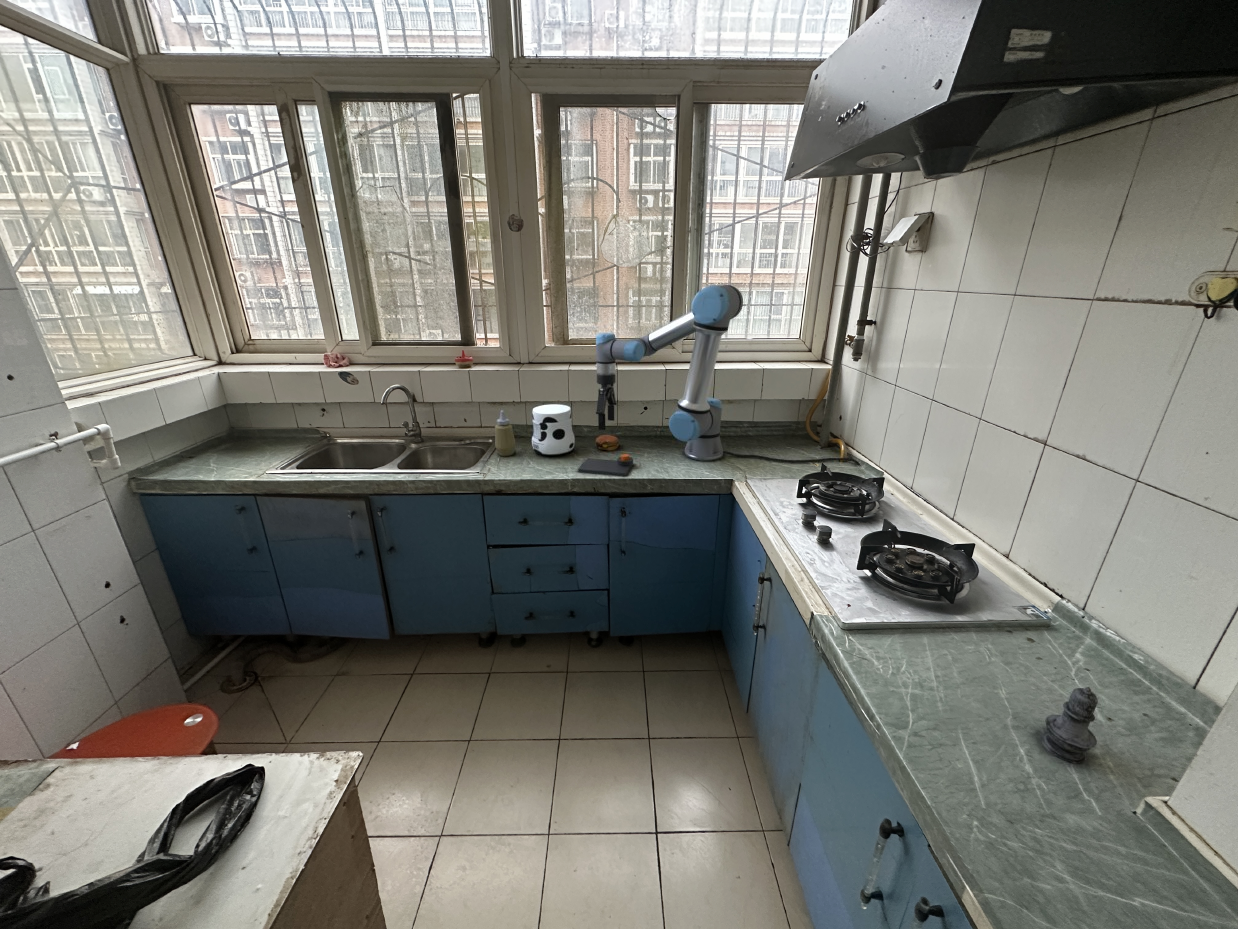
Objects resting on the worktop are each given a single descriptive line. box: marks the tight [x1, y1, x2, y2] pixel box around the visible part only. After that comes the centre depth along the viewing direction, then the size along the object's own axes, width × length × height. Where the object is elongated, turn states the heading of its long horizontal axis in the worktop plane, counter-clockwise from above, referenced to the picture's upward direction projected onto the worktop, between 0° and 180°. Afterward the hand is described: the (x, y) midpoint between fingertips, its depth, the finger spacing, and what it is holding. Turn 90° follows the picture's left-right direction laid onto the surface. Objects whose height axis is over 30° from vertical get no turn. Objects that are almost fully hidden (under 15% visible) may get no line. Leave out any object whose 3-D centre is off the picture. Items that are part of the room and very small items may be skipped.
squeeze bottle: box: [494, 410, 516, 457], centre depth 199 cm, size 8×8×18 cm
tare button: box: [620, 453, 630, 461], centre depth 187 cm, size 3×3×2 cm
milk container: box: [531, 403, 576, 457], centre depth 201 cm, size 17×17×18 cm
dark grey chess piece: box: [1040, 686, 1099, 765], centre depth 74 cm, size 6×6×12 cm
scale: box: [577, 456, 634, 477], centre depth 186 cm, size 18×12×3 cm
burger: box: [595, 434, 620, 451], centre depth 208 cm, size 10×9×5 cm
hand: (606, 424), depth 205 cm, fingers open, 13 cm apart
